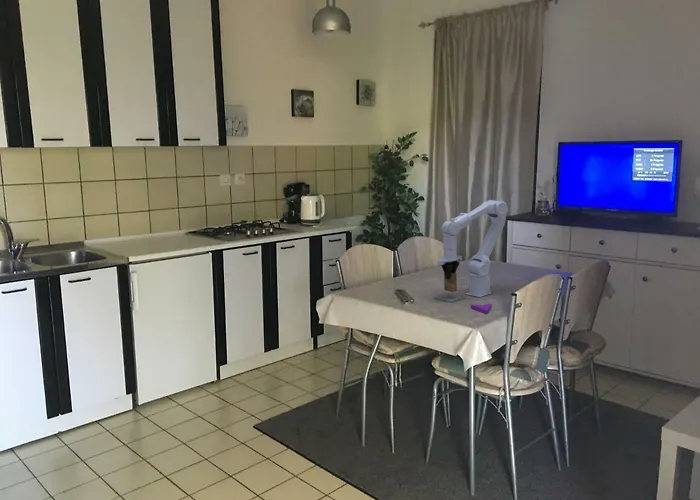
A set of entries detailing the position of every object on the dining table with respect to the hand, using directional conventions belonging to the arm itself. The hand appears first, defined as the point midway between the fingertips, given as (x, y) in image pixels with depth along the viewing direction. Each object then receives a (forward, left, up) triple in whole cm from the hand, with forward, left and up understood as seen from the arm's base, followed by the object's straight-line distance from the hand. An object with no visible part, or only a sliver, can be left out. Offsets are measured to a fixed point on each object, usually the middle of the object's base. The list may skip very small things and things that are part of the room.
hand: (450, 278), depth 262 cm
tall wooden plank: (0, 0, -6) cm, 6 cm away
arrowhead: (+2, +18, -9) cm, 20 cm away
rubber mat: (0, 0, -9) cm, 9 cm away
